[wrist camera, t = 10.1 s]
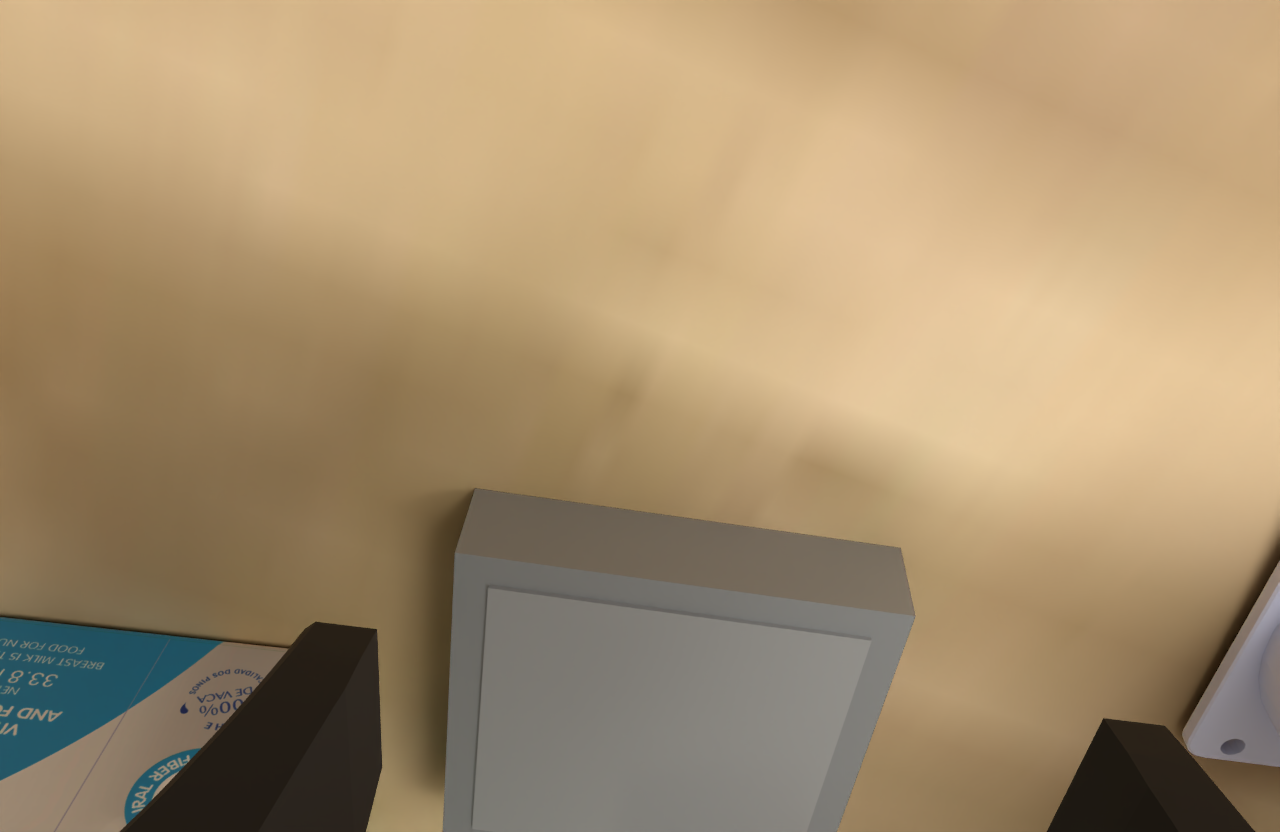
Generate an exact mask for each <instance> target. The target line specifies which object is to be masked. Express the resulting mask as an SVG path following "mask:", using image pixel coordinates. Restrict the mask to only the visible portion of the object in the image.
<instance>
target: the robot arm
mask: <svg viewBox="0 0 1280 832" xmlns="http://www.w3.org/2000/svg"><path fill="white" fill-rule="evenodd" d="M1182 737H1183V739H1184V742H1185V744H1186V746H1187V748H1188V751H1189V752H1191V753H1192V754H1193V755H1196V756H1199V757H1204V758H1212V759H1220V760H1228V761H1236V762H1244V763H1252V764H1259V765H1267V766H1275V767H1280V561H1279V563H1278V564H1277V566H1276V568H1275V570H1274V571H1273V573H1272V575H1271V577H1270V578H1269V580H1268V582H1267V584H1266V585H1265V587H1264V589H1263V591H1262V592H1261V594H1260V596H1259V598H1258V599H1257V601H1256V603H1255V605H1254V606H1253V608H1252V610H1251V612H1250V613H1249V615H1248V617H1247V619H1246V620H1245V622H1244V624H1243V626H1242V627H1241V629H1240V631H1239V633H1238V634H1237V636H1236V638H1235V640H1234V641H1233V643H1232V645H1231V647H1230V649H1229V650H1228V652H1227V654H1226V656H1225V657H1224V659H1223V661H1222V663H1221V664H1220V666H1219V668H1218V670H1217V671H1216V673H1215V675H1214V677H1213V678H1212V680H1211V682H1210V684H1209V685H1208V687H1207V689H1206V691H1205V692H1204V694H1203V696H1202V698H1201V699H1200V701H1199V703H1198V705H1197V706H1196V708H1195V710H1194V712H1193V713H1192V715H1191V717H1190V719H1189V720H1188V722H1187V724H1186V726H1185V727H1184V729H1183V733H1182ZM381 769H382V751H381V724H380V696H379V669H378V641H377V629H370V628H361V627H353V626H345V625H337V624H329V623H321V622H315V623H313V624H312V625H310V626H309V627H307V628H306V629H305V630H304V631H303V632H302V633H301V634H300V636H299V637H298V638H297V639H296V641H295V642H294V643H293V644H292V646H291V647H290V648H289V649H288V650H287V652H286V653H285V654H284V655H283V656H282V658H281V659H280V660H279V661H278V662H277V664H276V665H275V666H274V667H273V668H272V670H271V671H270V672H269V673H268V674H267V675H266V677H265V678H264V679H263V680H262V681H261V682H260V684H259V685H258V686H257V687H256V688H255V689H254V690H253V692H252V693H251V694H250V695H249V696H248V697H247V698H246V700H245V701H244V702H243V703H242V704H241V705H240V706H239V707H238V709H237V710H236V711H235V712H234V713H233V714H232V715H231V716H230V717H229V719H228V720H227V721H226V722H225V723H224V724H223V725H222V726H221V728H220V729H219V730H218V731H217V732H216V733H215V734H214V735H213V736H212V737H211V738H210V739H209V740H208V742H207V743H206V744H205V745H204V746H203V747H202V748H201V749H200V750H199V751H198V752H197V753H196V754H195V755H194V756H193V757H192V758H191V759H190V761H189V762H188V763H187V764H186V765H185V766H184V767H183V768H182V769H181V770H180V771H179V772H178V773H177V774H176V775H175V776H174V777H173V778H172V780H171V781H170V782H169V783H168V784H167V785H166V786H165V787H164V788H163V789H162V790H161V791H160V792H159V793H158V794H157V795H156V796H155V797H154V798H153V799H152V800H151V801H150V802H149V803H148V804H147V805H146V806H145V807H144V808H143V809H142V810H141V811H140V812H139V813H138V814H137V815H136V816H135V817H134V818H133V819H132V820H131V821H130V822H129V823H128V824H127V825H126V826H125V827H124V828H123V829H122V830H121V831H119V832H366V828H367V825H368V821H369V817H370V813H371V809H372V805H373V801H374V797H375V793H376V789H377V785H378V781H379V777H380V773H381ZM1047 832H1255V831H1254V830H1253V829H1252V828H1251V826H1250V825H1249V824H1248V823H1247V822H1246V820H1245V819H1244V818H1243V817H1242V816H1241V815H1240V813H1239V812H1238V811H1237V810H1236V809H1235V807H1234V806H1233V805H1232V804H1231V803H1230V801H1229V800H1228V799H1227V798H1226V797H1225V795H1224V794H1223V793H1222V792H1221V791H1220V789H1219V788H1218V787H1217V786H1216V785H1215V784H1214V782H1213V781H1212V780H1211V779H1210V778H1209V776H1208V775H1207V774H1206V773H1205V772H1204V770H1203V769H1202V768H1201V767H1200V766H1199V765H1198V763H1197V762H1196V761H1195V760H1194V759H1193V758H1192V756H1191V755H1190V754H1189V753H1188V752H1187V751H1186V749H1185V748H1184V747H1183V746H1182V745H1181V744H1180V742H1179V741H1178V740H1177V739H1176V738H1175V737H1174V736H1173V734H1172V733H1171V732H1170V731H1169V730H1168V729H1167V728H1166V727H1165V726H1161V725H1153V724H1145V723H1137V722H1129V721H1121V720H1112V719H1104V718H1103V720H1102V722H1101V724H1100V726H1099V728H1098V730H1097V732H1096V734H1095V736H1094V738H1093V740H1092V742H1091V744H1090V746H1089V748H1088V750H1087V752H1086V754H1085V756H1084V758H1083V760H1082V762H1081V764H1080V766H1079V768H1078V770H1077V772H1076V774H1075V776H1074V778H1073V780H1072V782H1071V784H1070V786H1069V788H1068V790H1067V792H1066V794H1065V796H1064V798H1063V800H1062V802H1061V804H1060V806H1059V808H1058V810H1057V812H1056V814H1055V816H1054V818H1053V821H1052V823H1051V825H1050V827H1049V829H1048V831H1047Z"/></svg>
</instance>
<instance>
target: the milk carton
mask: <svg viewBox="0 0 1280 832" xmlns="http://www.w3.org/2000/svg"><path fill="white" fill-rule="evenodd" d="M287 650H288V648H278V647H269V646H260V645H251V644H242V643H233V642H224V641H215V640H206V639H197V638H188V637H179V636H169V635H160V634H151V633H142V632H133V631H124V630H115V629H106V628H97V627H88V626H79V625H69V624H60V623H51V622H42V621H33V620H24V619H15V618H6V617H0V832H119V831H121V830H122V829H123V828H124V827H125V826H126V825H127V824H128V823H129V822H130V821H131V820H132V819H133V818H134V817H135V816H136V815H137V814H138V813H139V812H140V811H141V810H142V809H143V808H144V807H145V806H146V805H147V804H148V803H149V802H150V801H151V800H152V799H153V798H154V797H155V796H156V795H157V794H158V793H159V792H160V791H161V790H162V789H163V788H164V787H165V786H166V785H167V784H168V783H169V782H170V781H171V780H172V778H173V777H174V776H175V775H176V774H177V773H178V772H179V771H180V770H181V769H182V768H183V767H184V766H185V765H186V764H187V763H188V762H189V761H190V759H191V758H192V757H193V756H194V755H195V754H196V753H197V752H198V751H199V750H200V749H201V748H202V747H203V746H204V745H205V744H206V743H207V742H208V740H209V739H210V738H211V737H212V736H213V735H214V734H215V733H216V732H217V731H218V730H219V729H220V728H221V726H222V725H223V724H224V723H225V722H226V721H227V720H228V719H229V717H230V716H231V715H232V714H233V713H234V712H235V711H236V710H237V709H238V707H239V706H240V705H241V704H242V703H243V702H244V701H245V700H246V698H247V697H248V696H249V695H250V694H251V693H252V692H253V690H254V689H255V688H256V687H257V686H258V685H259V684H260V682H261V681H262V680H263V679H264V678H265V677H266V675H267V674H268V673H269V672H270V671H271V670H272V668H273V667H274V666H275V665H276V664H277V662H278V661H279V660H280V659H281V658H282V656H283V655H284V654H285V653H286V652H287Z"/></svg>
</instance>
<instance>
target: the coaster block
mask: <svg viewBox="0 0 1280 832" xmlns="http://www.w3.org/2000/svg"><path fill="white" fill-rule="evenodd" d="M914 619H915V611H914V607H913V602H912V598H911V593H910V588H909V584H908V579H907V575H906V570H905V566H904V561H903V556H902V552H901V548H898V547H890V546H883V545H876V544H869V543H862V542H855V541H848V540H841V539H833V538H826V537H819V536H812V535H805V534H798V533H791V532H784V531H776V530H769V529H762V528H755V527H748V526H741V525H734V524H726V523H719V522H712V521H705V520H698V519H691V518H684V517H677V516H669V515H662V514H655V513H648V512H641V511H634V510H627V509H619V508H612V507H605V506H598V505H591V504H584V503H577V502H570V501H562V500H555V499H548V498H541V497H534V496H527V495H520V494H512V493H505V492H498V491H491V490H484V489H477V488H475V490H474V494H473V497H472V500H471V503H470V506H469V509H468V512H467V516H466V519H465V522H464V525H463V528H462V531H461V535H460V538H459V541H458V544H457V547H456V550H455V560H454V583H453V606H452V630H451V653H450V676H449V700H448V723H447V747H446V770H445V793H444V817H443V832H837V830H838V827H839V825H840V822H841V819H842V816H843V814H844V811H845V808H846V805H847V803H848V800H849V797H850V794H851V792H852V789H853V786H854V783H855V781H856V778H857V775H858V772H859V770H860V767H861V764H862V762H863V759H864V756H865V753H866V751H867V748H868V745H869V742H870V740H871V737H872V734H873V731H874V729H875V726H876V723H877V720H878V718H879V715H880V712H881V709H882V707H883V704H884V701H885V698H886V696H887V693H888V690H889V688H890V685H891V682H892V679H893V677H894V674H895V671H896V668H897V666H898V663H899V660H900V657H901V655H902V652H903V649H904V646H905V644H906V641H907V638H908V635H909V633H910V630H911V627H912V625H913V622H914Z"/></svg>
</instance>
